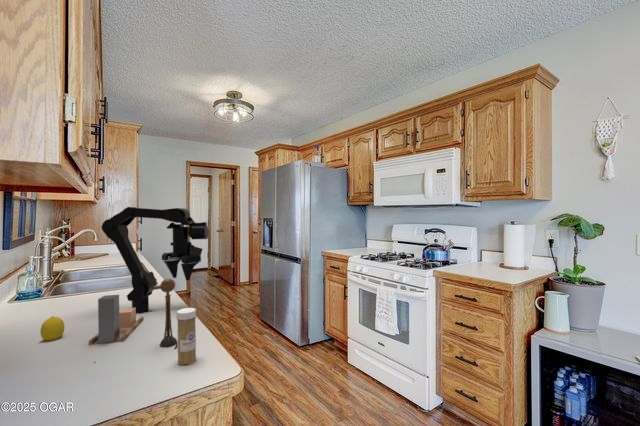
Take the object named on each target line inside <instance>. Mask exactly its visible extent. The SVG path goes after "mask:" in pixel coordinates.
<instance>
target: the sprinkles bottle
mask: <svg viewBox="0 0 640 426" xmlns="http://www.w3.org/2000/svg"><path fill="white" fill-rule="evenodd" d="M196 316H197V309H196V308H194V307H185V308H181V309H178V310H177V311H176V319H177V320H176V321H177V331H176V332H177V333H176V334H177V338H176V340H177V343H178V347H177V364H178V365H181V366H184V365H190V364H193V363H194V362H195V361H197V356H196V354H197V353H196V351H197V350H196V348H197V336H196Z"/></svg>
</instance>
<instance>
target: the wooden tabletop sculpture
mask: <svg viewBox="0 0 640 426" xmlns="http://www.w3.org/2000/svg"><path fill="white" fill-rule="evenodd" d="M175 287H176V282H175V281H174V279H172V278H165V279H164V280H162V281H161V283H160V284H159V285H158V284H157V285H156V286H154V290H153V291H156V290H161V291H162V292H163V293H165V294H166V295H165V296H164V297H165V322H164V323H165V324H164V325H165V327H164V334H163V338H162V340H161V341H160V344H159V347H160V348H162V349H164V348H166V349H167V348H171V347H174V346H175V347H174V349H173V350H176V349H178V341H177V338H176V337H175V336H173V328H172V319H171V318H172V314H171V311H172V310H171V296H172V295H171V294H170V293H171V292H172V291H174V290H175Z"/></svg>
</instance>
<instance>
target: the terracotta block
mask: <svg viewBox="0 0 640 426" xmlns="http://www.w3.org/2000/svg"><path fill="white" fill-rule="evenodd" d="M136 321H137V313H136V308H132V307H128V308H126V307H125V308H119V328H127V327H132V325H133V324H134V323H135V322H136Z"/></svg>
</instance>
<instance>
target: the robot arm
mask: <svg viewBox="0 0 640 426" xmlns="http://www.w3.org/2000/svg"><path fill="white" fill-rule="evenodd" d="M136 218H145V219H160V220H165V221H168V222H170V224H168V225H167V226H166V229H172V242H170V243H169V244H170V246H172V251H170V252H169V251H168V252H164V253H163V254H162V255H161V261H163V263H164V264H165V265H166V267H167V269H168V271H169V273H170V274H171V276H172V278H173V279H176V278H177V277H178V276H177V275H178V267H179V263H180V265H181V268H182V272H183V275H184V278H185V281H186V282H187V281H190V280H191V276H192V273H193V271H194V268H195V266H196V265H197V264H199V263H200V262H202V256H201V255H202V251H203V248H202V247H198V246H195V245H194V244H192V241H190V240H189V239H190V238H191V240H208V239H209V234H210V230H209V226H208V223H207V221H204V222H196V221H194V218H192V217H191V213H190V211H189V210H188V209H186V208H183V207H177V208H176V207H175V208H167V209H159V208H158V209H156V208H143V207H136V206H127V207H125V208H124V209H123V210H122V211H120V212H118V213H116V214H115V215H113V216H112V217H111V218H108V219H105V220H104V221H103V223H102V225H101V227H100V228H101V231H102V232H103V233H104V235H105V236H106V237H107V238H108V239H109V240H111V242H113V243H114V244H115V246H116V248H117V250H118V252H119V254H120V256H121V257H122V261H124V263H125V265H126V268H127V269H128V271H129V273H130V275H131V286H132V289H131V291H130V292H129V293H128V294H127V295H126V298H127V301H129V302H131V308H136V314H143V313H152V312H153V310H151V309H149V307H150V306H149V305H150V304H149V301H150V300H149V298H150V297H149V296H151V295H152V294H153V291H155V290H154V286H157V285H158V283H157V280H158V279H157V278H156V276H155V275H154V273H153V271H149V272H148V271H147V270H145V268H144V266H143V264H142V262H141V260H140V258H139V255H138V254H137V252H136V250H135V248H134V247H133V244H132V243H131V241H130V239H129V229H128V227H129V225H130V224H131V223H132V222H133V221H134V220H135V219H136ZM179 223H180V224H179Z"/></svg>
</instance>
